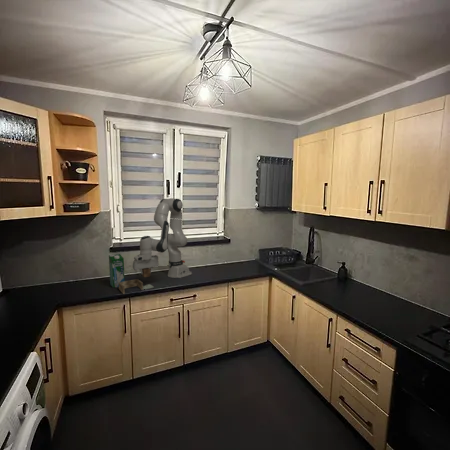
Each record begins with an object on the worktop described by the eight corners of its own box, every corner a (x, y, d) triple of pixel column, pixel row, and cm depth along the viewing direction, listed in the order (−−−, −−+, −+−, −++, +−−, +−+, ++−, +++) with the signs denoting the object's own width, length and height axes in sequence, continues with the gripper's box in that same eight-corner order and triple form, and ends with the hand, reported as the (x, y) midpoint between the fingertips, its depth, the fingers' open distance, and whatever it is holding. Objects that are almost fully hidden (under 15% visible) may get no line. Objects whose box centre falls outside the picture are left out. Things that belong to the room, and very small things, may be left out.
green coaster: (149, 284, 212) (149, 284, 212) (153, 287, 206) (153, 286, 206) (140, 286, 207) (140, 286, 207) (144, 289, 201) (144, 289, 201)
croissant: (137, 285, 211) (137, 278, 210) (142, 289, 201) (142, 282, 201) (118, 289, 202) (118, 282, 201) (123, 293, 192) (123, 286, 192)
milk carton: (113, 287, 205) (111, 257, 202) (110, 284, 212) (108, 255, 209) (124, 285, 211) (123, 255, 208) (121, 282, 218) (120, 253, 215)
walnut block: (148, 274, 209) (147, 267, 208) (150, 276, 205) (150, 269, 204) (142, 275, 205) (141, 268, 205) (144, 277, 202) (144, 269, 201)
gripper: (156, 254, 212) (156, 270, 214) (131, 257, 200) (132, 274, 201) (159, 255, 207) (160, 272, 209) (134, 258, 195) (134, 276, 196)
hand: (146, 273), depth 205 cm, fingers closed on walnut block, 5 cm apart
